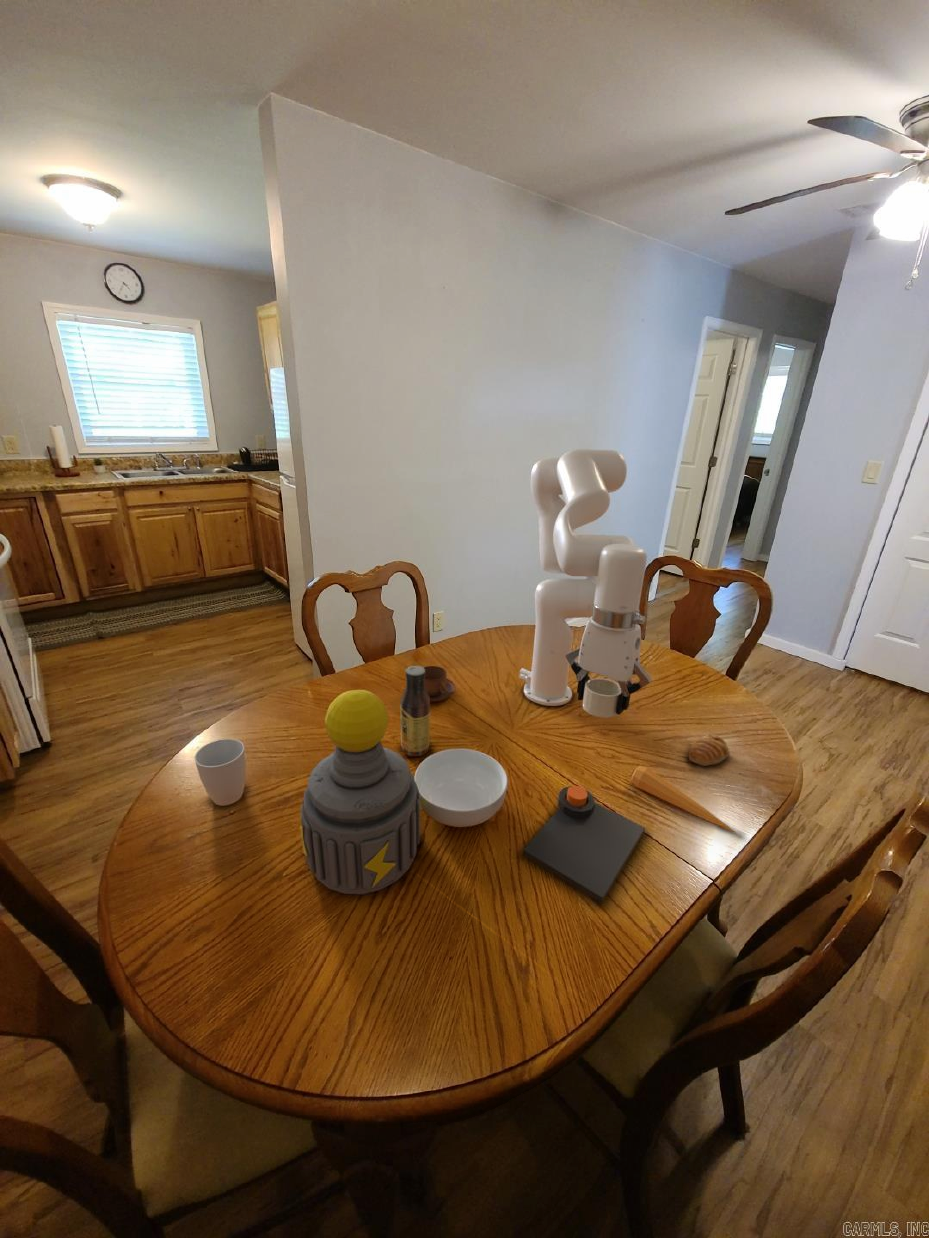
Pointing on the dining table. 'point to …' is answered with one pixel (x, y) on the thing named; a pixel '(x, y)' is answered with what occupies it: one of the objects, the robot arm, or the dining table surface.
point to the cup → (222, 770)
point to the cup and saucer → (438, 683)
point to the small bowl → (601, 697)
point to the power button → (577, 796)
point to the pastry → (708, 750)
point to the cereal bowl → (461, 787)
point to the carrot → (671, 794)
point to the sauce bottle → (415, 713)
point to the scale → (585, 845)
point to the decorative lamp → (360, 802)
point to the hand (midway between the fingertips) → (601, 703)
